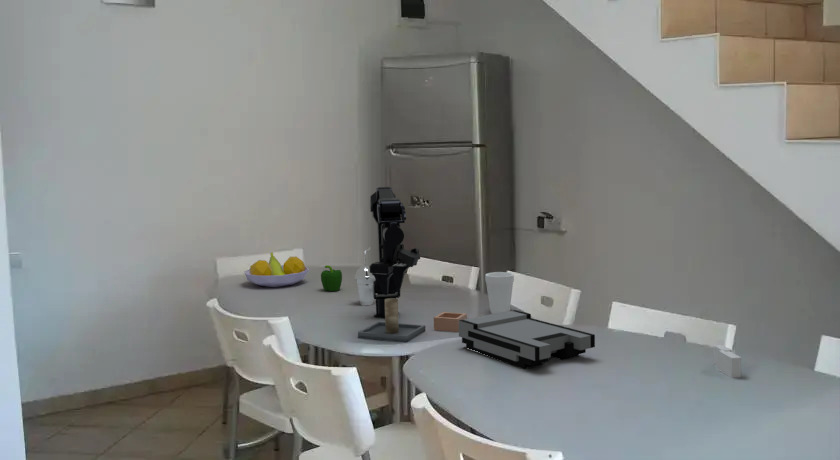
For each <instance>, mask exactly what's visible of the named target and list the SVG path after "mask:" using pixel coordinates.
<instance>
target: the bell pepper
mask: <svg viewBox="0 0 840 460" xmlns="http://www.w3.org/2000/svg"><path fill="white" fill-rule="evenodd" d="M324 268H325V270H324V269H323V271H321V273H320V281H321V284H322V288H323V291H326V292H339V290H340V289H341V286H342V281H343V274H342V271H341V269H333V268H332V266H331V265H325V266H324ZM327 268H328V269H329V270H327Z"/></svg>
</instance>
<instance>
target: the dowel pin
mask: <svg viewBox="0 0 840 460" xmlns="http://www.w3.org/2000/svg"><path fill="white" fill-rule="evenodd" d="M398 312H399V298H388V299H385V317H384V321H385V328H386V333H389V334H394V333H398V332H399V323H400V322H399V314H398Z"/></svg>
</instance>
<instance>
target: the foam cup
mask: <svg viewBox="0 0 840 460" xmlns="http://www.w3.org/2000/svg"><path fill="white" fill-rule="evenodd" d="M484 276H485V277H484V278H485V279H484V280H485V283H486V289H487V291H486V292H487V298H488V305H489V306H488V307H489V312H490V315H491V314H497V313H502V312H507V311H511V303H512V296H513V285H514V282H515V278H514V277H515V273H513V272H508V271H507V272H506V271H504V272H503V271H495V272H494V271H493V272H488V273H485V275H484Z"/></svg>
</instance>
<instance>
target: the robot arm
mask: <svg viewBox="0 0 840 460" xmlns="http://www.w3.org/2000/svg"><path fill="white" fill-rule="evenodd" d="M375 190H376V191H375V192H374V193H373V194H371V195H370V198H369V211H370V213H372V214H371V215H372V219H373V220H374V221H375V223H376V226H377V246H378V247H377V248H378V249H377V251H378V261H375V262H373V263H371V264H370V265H368V266H369V271H370V273H372V275H374V277H375V281H373V300H375V314H374V315H373V317H375V318H377V317H379V318H385V299H388V298H396V299H400V297H401V289H402V285H403V281H404V278H405V273H406V272H407V271H408V270H409V269H410V268H413V267H414V266H417V265H418V262H419V260H420V259H421V254H420V249H418V248H417V247H414V248H412V249H406V248H405V245H404V243H403V241H404V239H405V233H404V231H403V229H402V228H401V224H405V223H406V220H407V215H406V208H405V205H404V203H403V202H401V199H400V198H398V197H396V194H395V193H394V192H393V187H390V186H379V187H377V188H376V189H375ZM399 314H400V312H399V311H398V315H399Z"/></svg>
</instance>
